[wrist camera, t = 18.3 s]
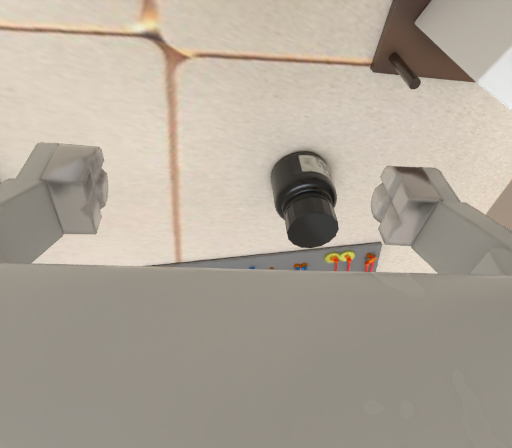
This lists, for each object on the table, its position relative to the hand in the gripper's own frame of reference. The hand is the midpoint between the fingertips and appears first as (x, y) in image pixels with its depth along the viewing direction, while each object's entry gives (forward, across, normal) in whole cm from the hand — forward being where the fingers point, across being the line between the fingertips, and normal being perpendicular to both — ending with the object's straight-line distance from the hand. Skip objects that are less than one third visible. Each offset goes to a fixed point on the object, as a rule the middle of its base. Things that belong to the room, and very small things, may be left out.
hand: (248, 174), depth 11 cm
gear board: (+37, -12, +56) cm, 69 cm away
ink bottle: (+37, -13, +28) cm, 48 cm away
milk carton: (+36, -26, +3) cm, 44 cm away
